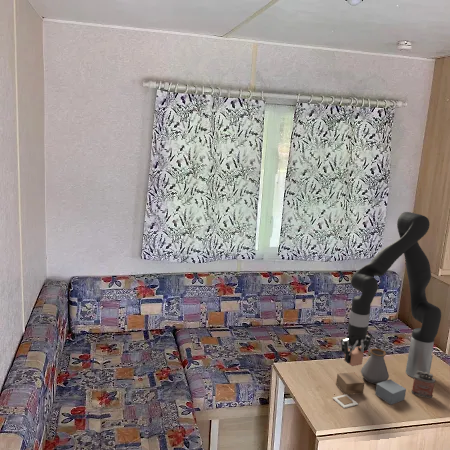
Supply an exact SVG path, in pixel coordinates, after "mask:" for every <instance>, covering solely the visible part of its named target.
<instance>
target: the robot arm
mask: <svg viewBox="0 0 450 450" xmlns="http://www.w3.org/2000/svg"><path fill="white" fill-rule="evenodd" d="M396 224H397V225H396V227H397V228H396V229H397V232H398V234H399V239H397V240H396V241H394V242H392V243H390V244H388V245H386V246H385V247H384V248H382V249H380V250H379V251H378V253H376V254H375V256H374V257H373V258H372V260H370V262H368V263H367V264H365V265H364V266H363V267H361V268H360V269H359V270H357V271H355V273H354V274H353V275H352V277H351V280H350V283H351V287H352V288H353V289H356V290H357V291H359V292H361V294H360V295H356V296H354V297H353V299H352V303H351V309H350V313H349V318H348V319H349V320H348V326H347V333H348V335H347V338H345V339H344V338H341V340H340V344H341V345H340V346H341V347H340V348H341V352H342V353H343V354H344V358H345V361H344V362H345V363H347V364H349V363H350V361H351V354H352V351H353V350H354V349H355V348H357V349H358V350H360V351H361V352H363V353H364V352H367V351H369V349H368V347H369V348H370V343H371V340H372V337H371V336H369V335H368V329H369V323H370V312H371V305H372V302H373V300H374V298H375V296H376V293H377V291H378V289H379V284H378V281H377V279H376V277H375V276H377V277H382V276H384V275H385V274H386V272H388V271H389V270H390V268H391V267H392V266H393V265H394V263H395V262H396V261H397V260H399V258H400V257H401V256H403V255H404V261H405V268H406V269H405V270H406V275H407V279H408V287H409V293H410V310H411V315H412V318H414V320H416V321H417V322H420V323H421V327H417V328H414V329H412V331H411V332H412V333H411V337H410V341H409V342H410V343H409V349H408V355H407V361H406V365H405V367H406V368H405V374H406V375H408V376H409V377H410V378H413V379H414V375H418V374H417V371H422V372H428V373H429V374H431V373H430V372H431V368H432V362H433V349H434V344H435V339H436V336H437V334H438V332H439V328H440V324H441V320H442V311H441V309H440V308H439V307H438V306H436V305H435V304H432V303H431V302H429V301H428V300H427V299H428V298H427V295H426V290H427V287H428V285H429V283H430V281H431V278H432V271H431V265H430V261H429V258H428V256H427V255H426V253H425V252H424V250H423V249H422V247H421V246H420V244H419V241H420V240H421V239H423V237H424V236H425V235H426V234H427V232H429V230H430V229H429V228H430V220H429V218H428V217H427V216H425V215H423V214H419V213H416V212H415V213H414V212H410V211H403V212H401V213H400V214H399V216H398V218H397V223H396ZM365 344H366V345H365ZM349 349H350V351H349ZM345 354H346V356H345ZM349 365H350V364H349Z"/></svg>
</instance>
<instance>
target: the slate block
mask: <svg viewBox="0 0 450 450" xmlns="http://www.w3.org/2000/svg"><path fill="white" fill-rule="evenodd" d="M375 385H376V386H375V392H374V394H375V395H376V397H378V398H380V399H382V400H383V401H384V402H386V403H387V404H389V405H394V404H397V403H400V402H402V401H404V400H405V398H406V393H407V388H406V387H404V386H403V385H400V384H399V383H397V382H395V381H394V380H392V379H390V378H388V379H387V380H386V381H383V382H380V383H377V384H375ZM375 395H374V396H375Z"/></svg>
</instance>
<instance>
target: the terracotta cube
mask: <svg viewBox="0 0 450 450" xmlns="http://www.w3.org/2000/svg"><path fill="white" fill-rule="evenodd" d="M349 351H350V349H349ZM345 356H346V354H345V353H344V359H343V361H344V362H346V361H345ZM363 360H364V352H361V351H360V350H358V349H357V347H355V349H354V350H353V351H352V354H351V361H350V363H349V365H350V366H351V367H356V366H360V365H363Z"/></svg>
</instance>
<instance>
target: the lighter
mask: <svg viewBox="0 0 450 450" xmlns="http://www.w3.org/2000/svg"><path fill="white" fill-rule="evenodd" d="M417 374H418V375H414V378H413V384H412V389H411V394H412V395H415V396H417V397H422V398H427V399H433V394H434V388H435V383H436V379H435V378H433V377H434V374H433V373H430V374H429V373H428V372H422V371H417Z"/></svg>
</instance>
